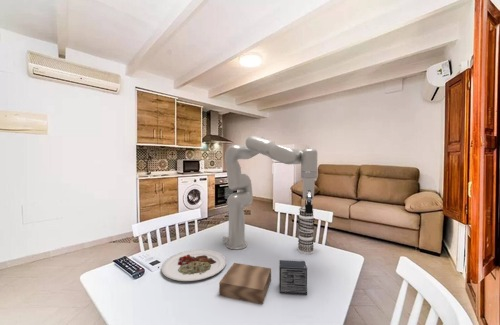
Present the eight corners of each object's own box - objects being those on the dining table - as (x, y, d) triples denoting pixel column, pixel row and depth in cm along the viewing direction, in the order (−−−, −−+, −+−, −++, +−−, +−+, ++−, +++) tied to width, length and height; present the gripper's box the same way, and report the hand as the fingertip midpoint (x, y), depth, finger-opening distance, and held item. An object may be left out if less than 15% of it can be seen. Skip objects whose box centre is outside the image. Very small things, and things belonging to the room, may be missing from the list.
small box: (304, 285, 89) (305, 260, 89) (307, 295, 83) (307, 268, 82) (279, 283, 90) (279, 258, 90) (279, 293, 84) (280, 266, 83)
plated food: (212, 289, 86) (212, 280, 86) (146, 279, 92) (146, 272, 92) (233, 256, 116) (233, 249, 116) (182, 250, 122) (182, 244, 122)
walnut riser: (219, 295, 82) (219, 282, 82) (233, 273, 97) (234, 262, 97) (262, 303, 77) (263, 290, 77) (271, 279, 93) (271, 268, 93)
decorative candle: (306, 255, 116) (307, 209, 116) (294, 249, 124) (294, 206, 124) (317, 251, 121) (318, 207, 121) (305, 246, 129) (305, 204, 129)
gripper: (301, 173, 112) (300, 206, 112) (300, 176, 95) (300, 214, 96) (316, 174, 110) (315, 207, 111) (318, 176, 93) (318, 215, 94)
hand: (308, 210), depth 103 cm, fingers open, 9 cm apart
